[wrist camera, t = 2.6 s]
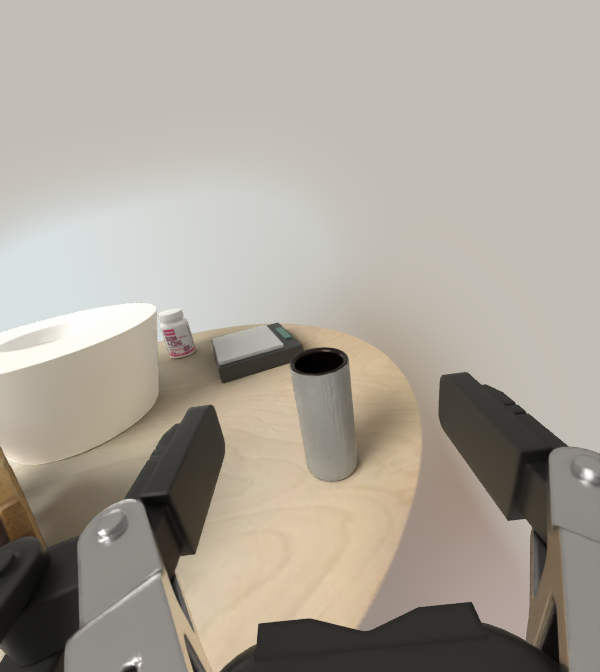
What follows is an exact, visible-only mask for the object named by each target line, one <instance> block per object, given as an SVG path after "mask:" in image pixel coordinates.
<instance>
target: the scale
mask: <svg viewBox="0 0 600 672" xmlns="http://www.w3.org/2000/svg"><path fill="white" fill-rule="evenodd" d="M211 343H212V346H213V350H214V354H215V358H216V362H217V366H218V370H219V374H220V377H221V380H222V383H225V382H228V381H232V380H235V379H238V378H241V377H245V376H248V375H251V374H254V373H258V372H261V371H264V370H267V369H271V368H274V367H277V366H280V365H284V364H287V363H290V362H291V360H292V359H293V358H294V357H295V356H296V355H297V354H299V353H301V352H303V347H302V344H301V343H300V342H299V341H298V340H296V339H295V338H294V337H293V336H292V335H291V334H290V333H289V332H288V331H287V330H286V329H284V328H283V327H282V326H281V325H280V324H279V323H275V324H271V325H267V326H266V325H262V326H258V327H254V328H251V329H247V330H243V331H239V332H235V333H231V334H228V335H224V336H220V337H216V338H213V339H212V340H211Z"/></svg>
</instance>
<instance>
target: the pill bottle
mask: <svg viewBox="0 0 600 672" xmlns="http://www.w3.org/2000/svg"><path fill="white" fill-rule="evenodd" d="M159 319H160V321H161V322H162V324H161V325H160V328H161V331H162V334H163V337H164V340H165V343H166V346H167V349H168V352H169V354H170V357H172V358H182V357H186V356H189V355H191V354H192V353H194V352H195V350H196V348H195V344H194V341H193V338H192V334H191V331H190V328H189V325H188V322H187V320H186V319H185V318H183V312H182V310H181V309H180V308H176V309H169V310H166V311H163V312H161V313H159Z"/></svg>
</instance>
